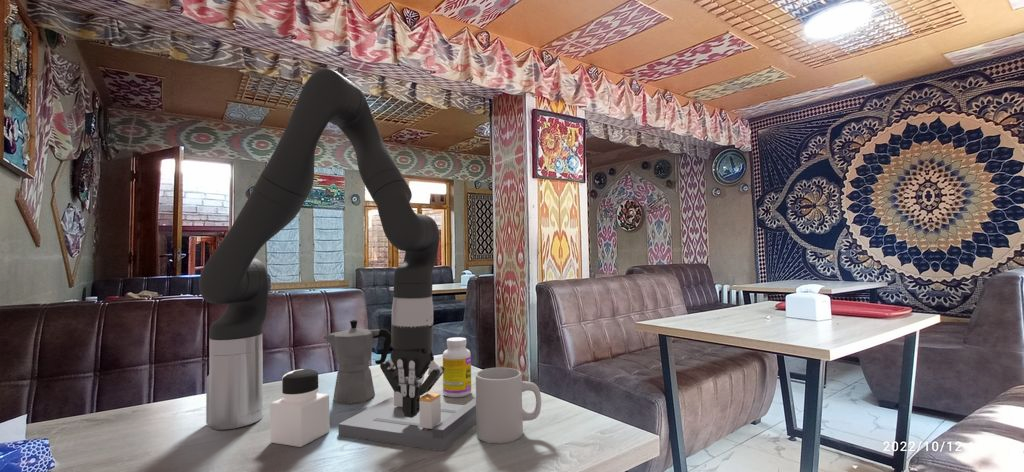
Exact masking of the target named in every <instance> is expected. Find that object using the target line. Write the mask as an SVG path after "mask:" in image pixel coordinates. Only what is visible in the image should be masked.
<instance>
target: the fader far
mask: <svg viewBox="0 0 1024 472" xmlns="http://www.w3.org/2000/svg"><path fill="white" fill-rule="evenodd" d="M393 397H394V406H399V407H402V404H403V396H402V395H401V393H399V392H398V391H397V392H395V391H394V390H393Z"/></svg>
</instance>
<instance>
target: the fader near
mask: <svg viewBox="0 0 1024 472" xmlns="http://www.w3.org/2000/svg"><path fill="white" fill-rule="evenodd" d="M419 400H420V427H423V428H430V429H432V428H433V427H435V426H436V425H437V424H439V423H440V422H441V405H440V403H441V393H435V392H426V393H425V394H423V395H421V396H420V398H419Z"/></svg>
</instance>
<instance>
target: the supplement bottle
mask: <svg viewBox="0 0 1024 472" xmlns="http://www.w3.org/2000/svg"><path fill="white" fill-rule="evenodd" d="M446 346H447V349H445V350H444V351H443V352H442V366H443V367H444V369H445V370H444V372H443V374H442V393H443V396H445V397H448V398H462V397H463V398H464V397H467V396H468V395H470V394H471V392H472V356H471V355H472V354H471V350H470V349H468V348H467V347H466V346H467V338H466V337H459V336H458V337H449V338H447V339H446Z"/></svg>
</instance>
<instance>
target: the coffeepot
mask: <svg viewBox="0 0 1024 472" xmlns="http://www.w3.org/2000/svg"><path fill="white" fill-rule="evenodd" d="M349 323H350V328H348V329H345V330H341V331H337V332H332V333H329V334H326V335H324V337H323V339H325V340H327V342H328V343H329V344H330V346H331V347H332V349H333V351H334V352H335V357H336V362H337V364H338V371H337V374H336V380H335V386H334V392H333V400H334V402H335V403H337V404H340V405H351V404H353V405H354V404H359V403H364V402H368V401H370V400H371V399H373V398H374V396H376V394H375V387H374V383H373V376H372V370H371V368H370V361H371V360H372V355H373V353H372V352H373V346H374V341H375V339H377V338H382V337H383V338H385V340H384V341H383V348H382V350H381V353H380V359H378V360H377V359H376V360H375V361H374V362H375V364H376V365H380V364H381V363H384V362H386V361H387V357H388V354H389V351H390V348H391V332H390V331H389V329H387V328H380V329H378V328H377V329H367V328H361V327H357V326H358V320H356V319H351V320H350V321H349Z"/></svg>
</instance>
